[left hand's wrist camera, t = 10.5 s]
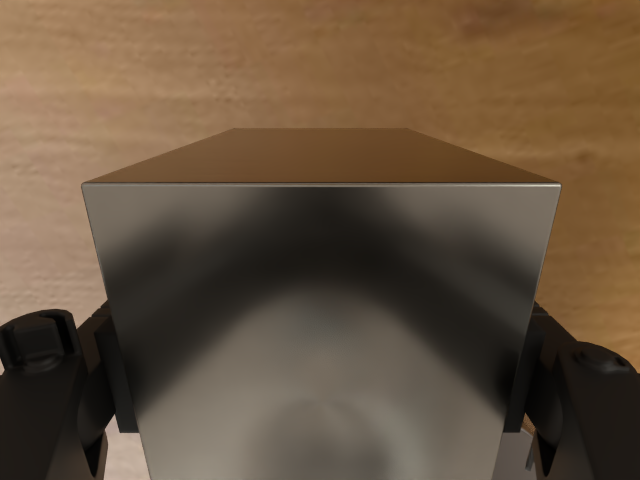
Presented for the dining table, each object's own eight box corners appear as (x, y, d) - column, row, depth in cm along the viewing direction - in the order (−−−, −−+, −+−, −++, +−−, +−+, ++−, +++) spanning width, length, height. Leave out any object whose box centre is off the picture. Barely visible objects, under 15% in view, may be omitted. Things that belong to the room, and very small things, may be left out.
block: (408, 128, 16) (564, 183, 6) (393, 305, 19) (477, 544, 9) (233, 128, 16) (77, 183, 6) (247, 305, 19) (164, 544, 9)
